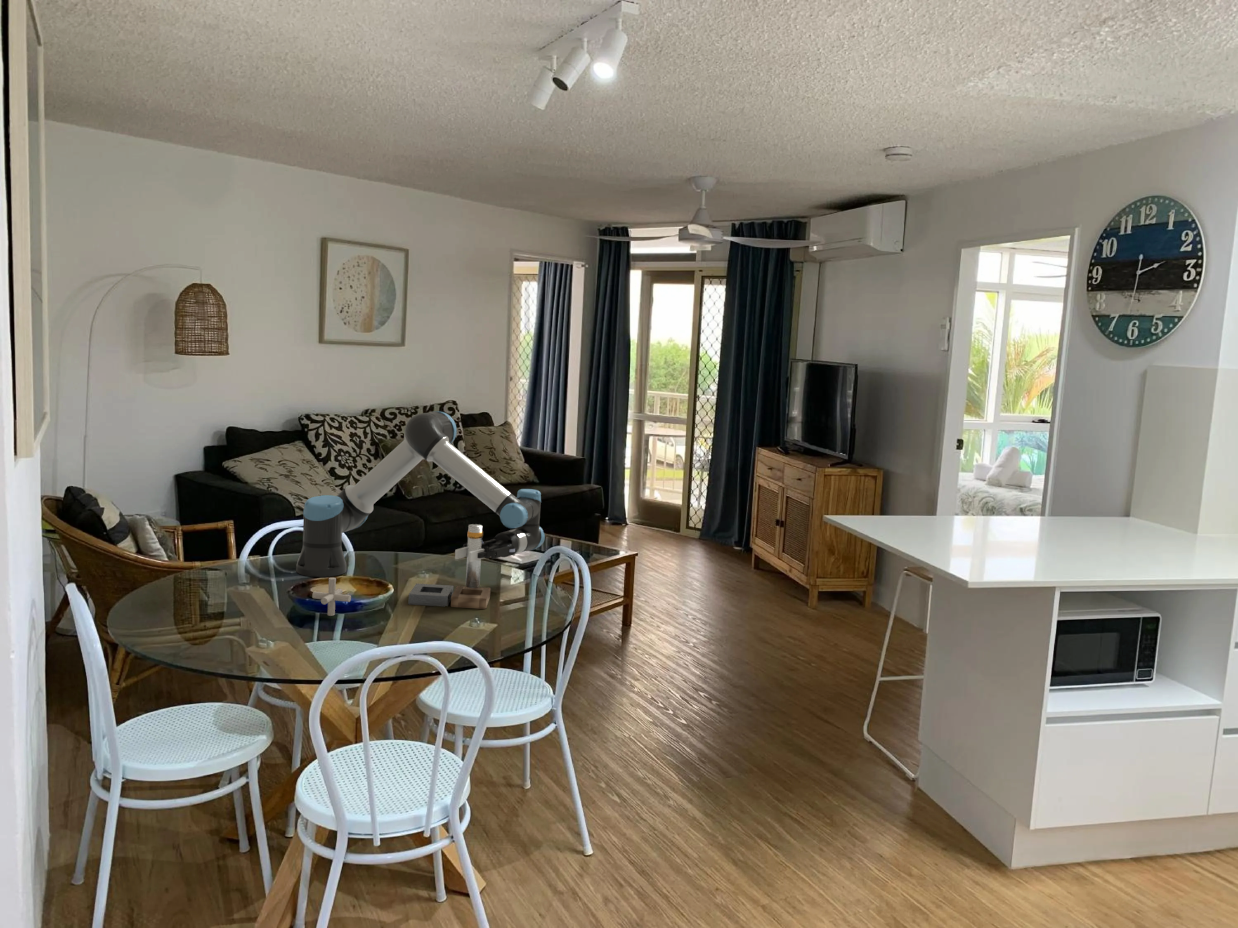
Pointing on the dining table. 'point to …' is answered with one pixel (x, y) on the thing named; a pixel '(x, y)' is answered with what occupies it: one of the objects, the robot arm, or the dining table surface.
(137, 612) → the dining table surface
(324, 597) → the pipe connector
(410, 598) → the socket block
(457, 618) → the dining table surface
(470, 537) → the silver banded cylinder
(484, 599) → the block
